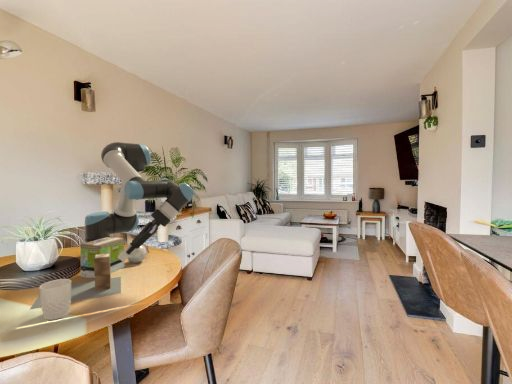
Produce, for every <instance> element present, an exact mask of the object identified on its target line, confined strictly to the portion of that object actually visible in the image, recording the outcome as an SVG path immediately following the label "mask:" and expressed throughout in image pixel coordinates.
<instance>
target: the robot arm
mask: <svg viewBox="0 0 512 384" xmlns="http://www.w3.org/2000/svg"><path fill="white" fill-rule="evenodd" d="M100 158H101V161H102V163H103V164H104V165H105V166H106V167H107V168H110V169H111V170H112V171H113V173H114V174H115V175H116V176H117V177H118V179H119V180H120V181H121V185H120V191H119V197H118V201H117V202H118V203H117V207H115V208H114V211H113V213H110V212H109V211H107V210H106V211H98V212H93V213H89V214H87V215H85V217H84V233H85V234H84V237H85V242H84V243H87V242H91V241H94V240H98V239H102V238H106V237H111V235H113V234H121V233H122V234H123V233H129V232H132V231H135V230H137V228H138V226H139V224H140V220H139V217H140V216H139V213H138V212H137V210H136V209H135V206H136V201H138V200H147V199H165V200H164V201H161V202H160V205H159V206H158V208H157V209H155V210H154V211H153V212H152V213H151V215H150V216H151V217H152V218H153V219H152V220H151V221H149V222H147V223H146V225H145V226H144V227H143V228H142V229H141V231H140V232H139V233H138V234H137V235H136V236H135V237H134V238H133V239H132V240H131V242H130V243H129V245H128V246H127V247H126V248H124V251H123V252H122V253H121V254H120V255H119V256H118V258H119V259H120V260H121V261H123V262H124V263H125V262H126V260H128V259H127V258H128V257H129V256H130V255H131V254H132V253H133V252H134V251H135V250H136V249H138V248H139V247H140V246H141V245H144V243H146V242H147V241H148V239H150V238H151V237H152V236H153V235H155V234H156V233H157V230H159V226H162V227H166V226H168V224H169V223H170V222H171V220H173V219H174V218H175V217H176V216H177V215H179V212H180V211H181V210H183V208H184V207H186V205H187V204H188V203H189V202H190V201H191V200H192V199H193V198H194V196H195V195H196V192H195V190H194V189H193V188H192V187H191V186H190V185H189V184H187V183H186V182H182V183H181V184H177V183H176V182H174V181H173V180H172V179H170V178H166V177H164V178H161V179H159V180H145V179H144V178H143V177H142V176H141V173H144V171H145V168H146V167H148V166H150V165H151V161H152V159H151V158H152V156H151V152H150V149H149V148H148V147H147V145H144V144H139V143H130V142H118V141H117V142H112V143H111V142H110V143H109V144H107V145H105V146H104V147H103V149H102V151H101V154H100Z"/></svg>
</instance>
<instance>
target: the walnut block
mask: <svg viewBox="0 0 512 384" xmlns="http://www.w3.org/2000/svg"><path fill="white" fill-rule="evenodd" d="M94 274H95V278H94V281H95V291H98V290H104V289H110V288H111V278H112V276H111V275H112V273H111V274H110V254H109V253H108V254H99V255H96V256H95V257H94Z"/></svg>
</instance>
